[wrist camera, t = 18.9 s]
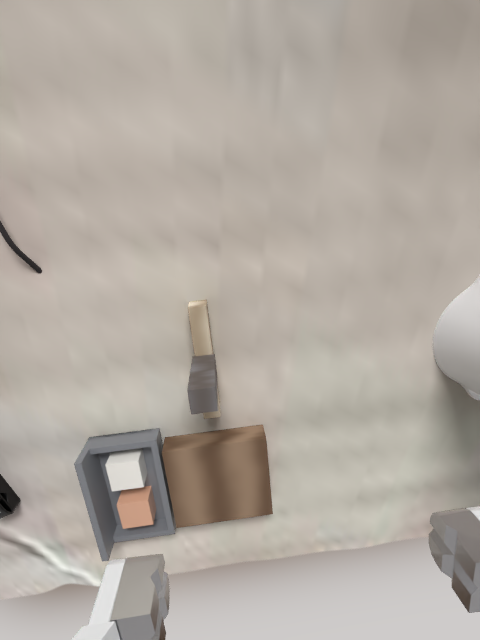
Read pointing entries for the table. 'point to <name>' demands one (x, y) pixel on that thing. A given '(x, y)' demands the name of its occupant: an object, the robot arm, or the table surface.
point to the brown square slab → (218, 475)
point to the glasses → (1, 229)
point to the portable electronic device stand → (7, 498)
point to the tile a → (126, 469)
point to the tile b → (136, 507)
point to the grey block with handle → (202, 364)
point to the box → (105, 500)
